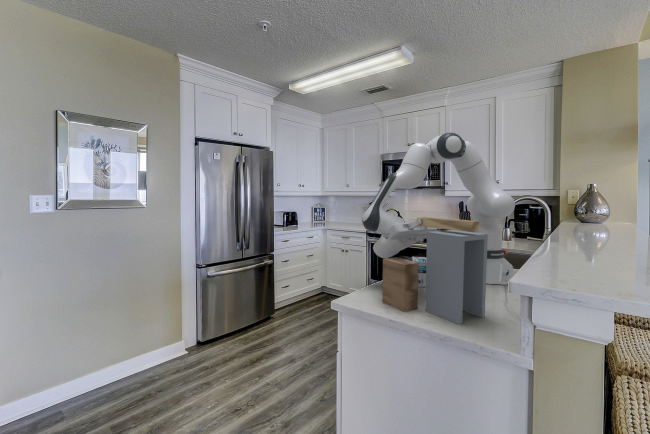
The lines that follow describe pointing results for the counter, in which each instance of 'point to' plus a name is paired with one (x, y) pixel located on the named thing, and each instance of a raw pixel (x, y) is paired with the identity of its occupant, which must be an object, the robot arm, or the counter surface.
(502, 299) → the counter surface
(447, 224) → the oak slat
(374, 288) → the counter surface
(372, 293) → the counter surface
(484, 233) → the robot arm
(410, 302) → the walnut block
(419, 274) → the light bulb box
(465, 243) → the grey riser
